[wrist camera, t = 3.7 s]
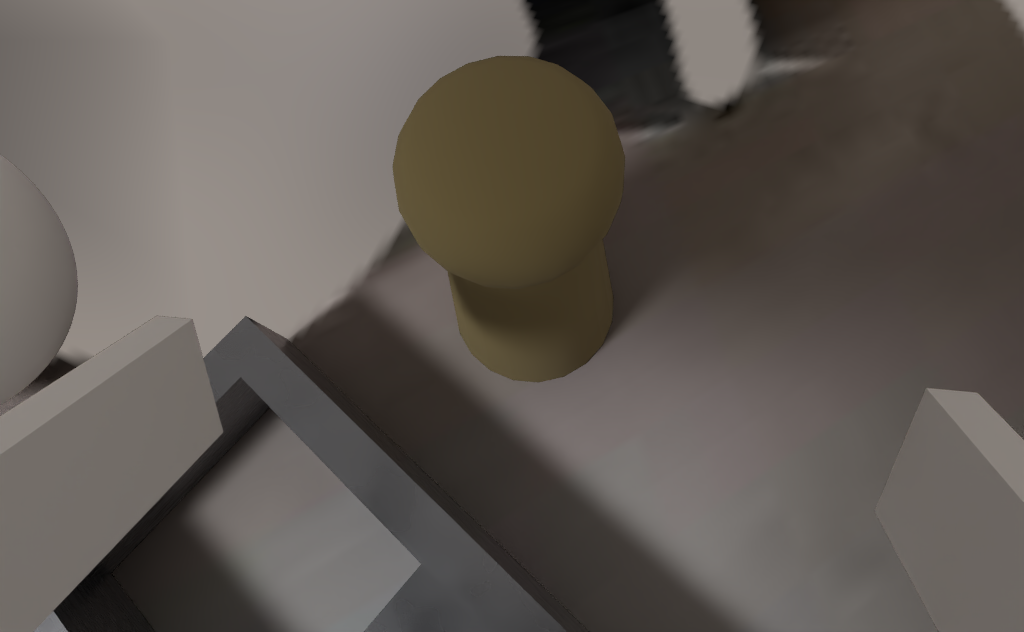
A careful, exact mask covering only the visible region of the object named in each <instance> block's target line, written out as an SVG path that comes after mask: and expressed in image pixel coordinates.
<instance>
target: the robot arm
mask: <svg viewBox="0 0 1024 632" xmlns="http://www.w3.org/2000/svg"><path fill="white" fill-rule="evenodd" d="M222 433H223V429H222V425H221V421H220V418H219V414H218V410H217V407H216V403H215V400H214V396H213V392H212V389H211V385H210V381H209V378H208V374H207V370H206V367H205V363H204V359H203V356H202V352H201V348H200V345H199V341H198V338H197V334H196V330H195V327H194V323H193V319H186V318H176V317H165V316H156V317H154V318H152V319H151V320H149V321H148V322H146V323H145V324H143V325H142V326H140V327H139V328H137V329H135V330H134V331H132V332H131V333H129V334H128V335H126V336H124V337H123V338H121V339H120V340H118V341H117V342H115V343H114V344H112V345H110V346H109V347H107V348H106V349H104V350H103V351H101V352H100V353H98V354H96V355H95V356H93V357H92V358H90V359H89V360H87V361H86V362H84V363H82V364H81V365H79V366H78V367H76V368H75V369H73V370H72V371H70V372H68V373H67V374H65V375H64V376H62V377H61V378H59V379H58V380H56V381H54V382H53V383H51V384H50V385H48V386H47V387H45V388H44V389H42V390H40V391H39V392H37V393H36V394H34V395H33V396H31V397H30V398H28V399H26V400H25V401H23V402H22V403H20V404H19V405H17V406H16V407H14V408H12V409H11V410H9V411H8V412H6V413H5V414H3V415H2V416H0V632H34V630H35V629H36V628H37V627H38V626H39V625H40V624H41V623H42V622H43V621H44V620H45V619H46V618H47V617H48V616H49V615H50V614H51V613H52V612H53V611H54V609H55V608H56V607H57V606H58V605H59V604H60V603H61V602H62V601H63V600H64V599H65V598H66V597H67V596H68V595H69V594H70V593H71V592H72V591H73V590H74V588H75V587H76V586H77V585H78V584H79V583H80V582H81V581H82V580H83V579H84V578H85V577H86V576H87V575H88V574H89V573H90V572H91V571H92V570H93V568H94V567H95V566H96V565H97V564H98V563H99V562H100V561H101V560H102V559H103V558H104V557H105V556H106V555H107V554H108V553H109V552H110V551H111V550H112V549H113V547H114V546H115V545H116V544H117V543H118V542H119V541H120V540H121V539H122V538H123V537H124V536H125V535H126V534H127V533H128V532H129V531H130V530H131V529H132V528H133V526H134V525H135V524H136V523H137V522H138V521H139V520H140V519H141V518H142V517H143V516H144V515H145V514H146V513H147V512H148V511H149V510H150V509H151V508H152V507H153V505H154V504H155V503H156V502H157V501H158V500H159V499H160V498H161V497H162V496H163V495H164V494H165V493H166V492H167V491H168V490H169V489H170V488H171V487H172V486H173V484H174V483H175V482H176V481H177V480H178V479H179V478H180V477H181V476H182V475H183V474H184V473H185V472H186V471H187V470H188V469H189V468H190V467H191V466H192V465H193V463H194V462H195V461H196V460H197V459H198V458H199V457H200V456H201V455H202V454H203V453H204V452H205V451H206V450H207V449H208V448H209V447H210V446H211V445H212V444H213V442H214V441H215V440H216V439H217V438H218V437H219V436H220V435H221V434H222ZM875 513H876V515H877V517H878V519H879V521H880V523H881V525H882V527H883V528H884V530H885V532H886V534H887V536H888V538H889V540H890V542H891V543H892V545H893V547H894V549H895V551H896V553H897V555H898V557H899V559H900V560H901V562H902V564H903V566H904V568H905V570H906V572H907V574H908V575H909V577H910V579H911V581H912V583H913V585H914V587H915V589H916V590H917V592H918V594H919V596H920V598H921V600H922V602H923V604H924V606H925V607H926V609H927V611H928V613H929V615H930V617H931V619H932V621H933V622H934V624H935V626H936V628H937V630H938V632H1024V440H1023V439H1022V438H1021V437H1020V436H1019V435H1018V434H1017V433H1016V432H1015V431H1014V430H1013V429H1012V428H1011V427H1010V426H1009V425H1008V423H1007V422H1006V421H1005V420H1004V419H1003V418H1002V417H1001V416H1000V415H999V414H998V413H997V412H996V411H995V410H994V409H993V408H992V407H991V406H990V405H989V404H988V403H987V402H986V401H985V400H984V399H983V398H982V397H981V396H980V395H979V394H978V393H975V392H964V391H954V390H943V389H932V388H926V389H925V392H924V394H923V396H922V399H921V401H920V403H919V406H918V408H917V411H916V413H915V415H914V418H913V420H912V423H911V425H910V427H909V430H908V432H907V434H906V437H905V439H904V442H903V444H902V446H901V449H900V451H899V454H898V456H897V458H896V461H895V463H894V465H893V468H892V470H891V473H890V475H889V477H888V480H887V482H886V485H885V487H884V489H883V492H882V494H881V497H880V499H879V501H878V504H877V506H876V508H875Z"/></svg>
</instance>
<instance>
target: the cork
mask: <svg viewBox="0 0 1024 632" xmlns="http://www.w3.org/2000/svg"><path fill="white" fill-rule="evenodd" d="M624 167H625V155H624V152H623V148H622V145H621V141H620V138H619V135H618V132H617V129H616V126H615V123H614V119H613V116H612V113H611V112H610V111H609V109H608V108H607V107H606V106H605V104H604V103H603V102H602V101H601V99H600V98H599V97H598V95H597V94H596V93H595V92H594V90H593V89H592V88H591V87H590V86H588V85H587V84H586V83H585V82H583V81H582V80H580V79H579V78H577V77H576V76H574V75H573V74H571V73H570V72H568V71H567V70H565V69H564V68H562V67H561V66H559V65H557V64H553V63H550V62H546V61H543V60H540V59H536V58H533V57H529V56H496V57H492V58H488V59H484V60H480V61H476V62H472V63H468V64H466V65H464V66H462V67H460V68H458V69H457V70H455V71H453V72H451V73H449V74H447V75H445V76H444V77H442V78H440V79H439V80H438V81H437V82H436V83H435V84H434V85H433V86H432V87H431V88H430V89H429V90H428V91H427V92H426V93H424V94H423V95H422V96H421V97H420V98H419V99H418V101H417V103H416V105H415V106H414V108H413V110H412V112H411V114H410V115H409V117H408V119H407V121H406V122H405V124H404V126H403V128H402V130H401V132H400V134H399V136H398V141H397V146H396V151H395V156H394V162H393V174H394V182H395V188H396V194H397V200H398V207H399V211H400V213H401V215H402V217H403V218H404V220H405V222H406V224H407V225H408V227H409V229H410V231H411V232H412V234H413V236H414V237H415V239H416V241H417V242H418V244H419V245H420V247H421V248H422V250H423V251H424V252H426V253H427V254H428V255H429V256H430V257H432V258H433V259H434V260H435V261H436V262H437V263H439V264H440V265H441V266H442V267H443V268H445V269H446V270H447V271H448V276H449V281H450V286H451V291H452V296H453V301H454V306H455V311H456V316H457V321H458V326H459V331H460V334H461V336H462V338H463V339H464V341H465V343H466V345H467V346H468V348H469V350H470V352H471V353H472V355H473V356H475V357H476V358H477V359H478V360H479V361H480V362H481V363H483V364H484V365H485V366H486V367H487V368H488V369H489V370H491V371H493V372H496V373H498V374H500V375H503V376H505V377H507V378H510V379H512V380H519V381H530V382H542V381H547V380H551V379H555V378H560V377H564V376H566V375H567V374H569V373H571V372H573V371H574V370H576V369H578V368H579V367H581V366H583V365H584V364H586V363H587V362H588V361H589V360H590V358H591V357H592V356H593V355H594V354H595V353H596V352H597V350H598V349H599V348H600V347H601V346H602V345H603V343H604V340H605V338H606V335H607V333H608V331H609V328H610V326H611V323H612V315H613V293H612V287H611V282H610V276H609V271H608V265H607V260H606V254H605V249H604V244H603V238H604V237H605V236H606V235H607V233H608V231H609V229H610V226H611V224H612V222H613V219H614V217H615V215H616V212H617V210H618V208H619V206H620V203H621V198H622V193H623V185H624Z"/></svg>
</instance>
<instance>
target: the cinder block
mask: <svg viewBox="0 0 1024 632" xmlns="http://www.w3.org/2000/svg"><path fill="white" fill-rule="evenodd" d="M203 359H204V363H205V367H206V370H207V374H208V378H209V381H210V385H211V389H212V392H213V396H214V400H215V403H216V407H217V410H218V414H219V418H220V421H221V425H222V429H223V433H222V434H221V435H220V436H219V437H218V438H217V439H216V440H215V441H214V442H213V444H212V445H211V446H210V447H209V448H208V449H207V450H206V451H205V452H204V453H203V454H202V455H201V456H200V457H199V458H198V459H197V460H196V461H195V462H194V463H193V465H192V466H191V467H190V468H189V469H188V470H187V471H186V472H185V473H184V474H183V475H182V476H181V477H180V478H179V479H178V480H177V481H176V482H175V483H174V484H173V486H172V487H171V488H170V489H169V490H168V491H167V492H166V493H165V494H164V495H163V496H162V497H161V498H160V499H159V500H158V501H157V502H156V503H155V504H154V505H153V507H152V508H151V509H150V510H149V511H148V512H147V513H146V514H145V515H144V516H143V517H142V518H141V519H140V520H139V521H138V522H137V523H136V524H135V525H134V526H133V528H132V529H131V530H130V531H129V532H128V533H127V534H126V535H125V536H124V537H123V538H122V539H121V540H120V541H119V542H118V543H117V544H116V545H115V546H114V547H113V549H112V550H111V551H110V552H109V553H108V554H107V555H106V556H105V557H104V558H103V559H102V560H101V561H100V562H99V563H98V564H97V565H96V566H95V567H94V568H93V570H92V571H91V572H90V573H89V574H88V575H87V576H86V577H85V578H84V579H83V580H82V581H81V582H80V583H79V584H78V585H77V586H76V587H75V588H74V590H73V591H72V592H71V593H70V594H69V595H68V596H67V597H66V598H65V599H64V600H63V601H62V602H61V603H60V604H59V605H58V606H57V607H56V608H55V609H54V611H53V612H52V613H51V614H50V615H49V616H48V617H47V618H46V619H45V620H44V621H43V622H42V623H41V624H40V625H39V626H38V627H37V628H36V629H35V630H34V632H155V631H154V630H153V629H152V627H151V626H150V625H149V623H148V622H147V621H146V619H145V618H144V617H143V615H142V614H141V613H140V611H139V610H138V609H137V608H136V606H135V605H134V604H133V602H132V601H131V600H130V598H129V597H128V596H127V594H126V593H125V592H124V590H123V589H122V588H121V587H120V585H119V584H118V583H117V581H116V580H115V579H114V577H113V576H112V575H111V573H112V571H113V570H114V569H115V568H116V567H117V566H118V565H119V564H120V563H121V562H122V561H123V560H124V559H125V558H126V557H127V556H128V555H129V554H130V553H131V552H132V551H133V550H134V549H135V547H136V546H137V545H138V544H139V543H140V542H141V541H142V540H143V539H144V538H145V537H146V536H147V535H148V534H149V533H150V532H151V531H152V530H153V529H154V528H155V527H156V526H157V525H158V523H159V522H160V521H161V520H162V519H163V518H164V517H165V516H166V515H167V514H168V513H169V512H170V511H171V510H172V509H173V508H174V507H175V506H176V505H177V504H178V503H179V502H180V501H181V500H182V498H183V497H184V496H185V495H186V494H187V493H188V492H189V491H190V490H191V489H192V488H193V487H194V486H195V485H196V484H197V483H198V482H199V481H200V480H201V479H202V478H203V477H204V476H205V474H206V473H207V472H208V471H209V470H210V469H211V468H212V467H213V466H214V465H215V464H216V463H217V462H218V461H219V460H220V459H221V458H222V457H223V456H224V455H225V454H226V453H227V452H228V451H229V449H230V448H231V447H232V446H233V445H234V444H235V443H236V442H237V441H238V440H239V439H240V438H241V437H242V436H243V435H244V434H245V433H246V432H247V431H248V430H249V429H250V428H251V427H252V425H253V424H254V423H255V422H256V421H257V420H258V419H259V418H260V417H261V416H262V415H263V414H264V413H265V412H266V411H267V410H268V409H269V408H271V409H272V410H273V411H274V412H275V413H276V414H277V415H278V416H279V417H280V418H281V419H282V420H283V421H284V422H285V423H286V424H287V426H288V427H289V428H290V429H291V430H292V431H293V432H294V433H295V434H296V435H297V436H298V437H299V438H300V439H301V440H302V441H303V442H304V443H305V444H306V445H307V446H308V447H309V448H310V449H311V450H312V451H313V452H314V453H315V454H316V455H317V457H318V458H319V459H320V460H321V461H322V462H323V463H324V464H325V465H326V466H327V467H328V468H329V469H330V470H331V471H332V472H333V473H334V474H335V475H336V476H337V477H338V478H339V479H340V480H341V481H342V482H343V483H344V484H345V485H346V486H347V488H348V489H349V490H350V491H351V492H352V493H353V494H354V495H355V496H356V497H357V498H358V499H359V500H360V501H361V502H362V503H363V504H364V505H365V506H366V507H367V508H368V509H369V510H370V511H371V512H372V513H373V514H374V515H375V516H376V517H377V519H378V520H379V521H380V522H381V523H382V524H383V525H384V526H385V527H386V528H387V529H388V530H389V531H390V532H391V533H392V534H393V535H394V536H395V537H396V538H397V539H398V540H399V541H400V542H401V543H402V544H403V545H404V546H405V547H406V548H407V550H408V551H409V552H410V553H411V554H412V555H413V556H414V557H415V558H416V559H417V560H418V561H419V562H420V563H421V565H420V566H419V568H418V569H417V570H416V571H415V572H414V574H413V575H412V576H411V577H410V578H409V579H408V581H407V582H406V583H405V584H404V585H403V586H402V588H401V589H400V590H399V591H398V592H397V594H396V595H395V596H394V597H393V598H392V599H391V601H390V602H389V603H388V604H387V605H386V606H385V608H384V609H383V610H382V611H381V612H380V613H379V615H378V616H377V617H376V618H375V619H374V621H373V622H372V623H371V624H370V625H369V626H368V628H367V629H366V630H365V631H364V632H589V631H588V630H587V629H586V628H585V627H584V626H583V625H582V624H581V623H579V622H578V621H577V620H576V619H575V618H574V617H573V616H572V615H571V614H570V613H569V612H568V611H567V610H566V609H565V608H564V607H563V606H562V605H561V604H560V603H559V602H558V601H557V600H556V599H555V598H554V597H553V596H552V595H551V594H550V593H549V592H548V591H546V590H545V589H544V588H543V587H542V586H541V585H540V584H539V583H538V582H537V581H536V580H535V579H534V578H533V577H532V576H531V575H530V574H529V573H528V572H527V571H526V570H525V569H524V568H523V567H522V566H521V565H520V564H519V563H518V562H517V561H516V560H515V559H514V558H512V557H511V556H510V555H509V554H508V553H507V552H506V551H505V550H504V549H503V548H502V547H501V546H500V545H499V544H498V543H497V542H496V541H495V540H494V539H493V538H492V537H491V536H490V535H489V534H488V533H487V532H486V531H485V530H484V529H483V528H482V527H481V526H479V525H478V524H477V523H476V522H475V521H474V520H473V519H472V518H471V517H470V516H469V515H468V514H467V513H466V512H465V511H464V510H463V509H462V508H461V507H460V506H459V505H458V504H457V503H456V502H455V501H454V500H453V499H452V498H451V497H450V496H449V495H448V494H446V493H445V492H444V491H443V490H442V489H441V488H440V487H439V486H438V485H437V484H436V483H435V482H434V481H433V480H432V479H431V478H430V477H429V476H428V475H427V474H426V473H425V472H424V471H423V470H422V469H421V468H420V467H419V466H418V465H417V464H416V463H415V462H413V461H412V460H411V459H410V458H409V457H408V456H407V455H406V454H405V453H404V452H403V451H402V450H401V449H400V448H399V447H398V446H397V445H396V444H395V443H394V442H393V441H392V440H391V439H390V438H389V437H388V436H387V435H386V434H385V433H384V432H383V431H382V430H380V429H379V428H378V427H377V426H376V425H375V424H374V423H373V422H372V421H371V420H370V419H369V418H368V417H367V416H366V415H365V414H364V413H363V412H362V411H361V410H360V409H359V408H358V407H357V406H356V405H355V404H354V403H353V402H352V401H351V400H350V399H349V398H348V397H346V396H345V395H344V394H343V393H342V392H341V391H340V390H339V389H338V388H337V387H336V386H335V385H334V384H333V383H332V382H331V381H330V380H329V379H328V378H327V377H326V376H325V375H324V374H323V373H322V372H321V371H320V370H319V369H318V368H317V367H316V366H315V365H313V364H312V363H311V362H310V361H309V360H308V359H307V358H306V357H305V356H304V355H303V354H302V353H301V352H300V351H299V350H298V349H297V348H296V347H295V346H294V345H293V344H292V343H291V342H290V341H289V340H288V339H286V338H284V337H283V336H281V335H279V334H277V333H275V332H274V331H272V330H270V329H268V328H267V327H265V326H263V325H261V324H259V323H257V322H256V321H254V320H252V319H250V318H249V317H247V316H245V317H244V319H242V320H241V321H240V322H239V323H238V325H236V326H235V327H234V328H233V329H232V330H231V331H230V332H229V333H228V334H227V335H226V336H225V337H224V338H223V339H222V340H221V341H220V342H219V343H218V344H217V345H216V346H215V347H214V348H213V350H212V351H210V352H209V353H208V354H207V355H206V356H205V357H204V358H203Z"/></svg>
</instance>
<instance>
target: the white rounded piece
mask: <svg viewBox="0 0 1024 632" xmlns="http://www.w3.org/2000/svg"><path fill="white" fill-rule="evenodd" d="M77 283H78V282H77V270H76V263H75V258H74V254H73V250H72V247H71V244H70V241H69V239H68V236H67V234H66V231H65V229H64V227H63V225H62V223H61V221H60V219H59V218H58V216H57V214H56V213H55V211H54V209H53V208H52V206H51V205H50V203H49V202H48V201H47V199H46V198H45V197H44V195H43V194H42V193H41V192H40V191H39V189H38V188H37V187H36V186H35V185H34V184H33V183H32V182H31V181H30V179H28V177H27V176H26V175H24V174H23V173H22V172H21V171H20V170H19V169H18V168H17V167H15V166H14V165H13V164H12V163H11V162H10V161H8V160H7V159H6V158H5V157H3V156H2V155H1V154H0V405H1V404H3V403H5V402H6V401H8V400H9V399H11V398H12V397H14V396H15V395H17V394H18V393H19V392H21V391H22V390H23V389H24V388H26V387H27V386H28V385H29V384H30V383H31V382H32V381H34V380H35V379H36V378H37V377H38V376H39V375H40V374H41V373H42V371H43V370H44V369H45V368H46V367H47V366H48V365H49V363H50V362H51V361H52V359H53V358H54V357H55V355H56V354H57V352H58V351H59V349H60V347H61V346H62V344H63V342H64V340H65V338H66V336H67V334H68V332H69V329H70V326H71V323H72V320H73V316H74V313H75V307H76V302H77V287H78V285H77Z"/></svg>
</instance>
